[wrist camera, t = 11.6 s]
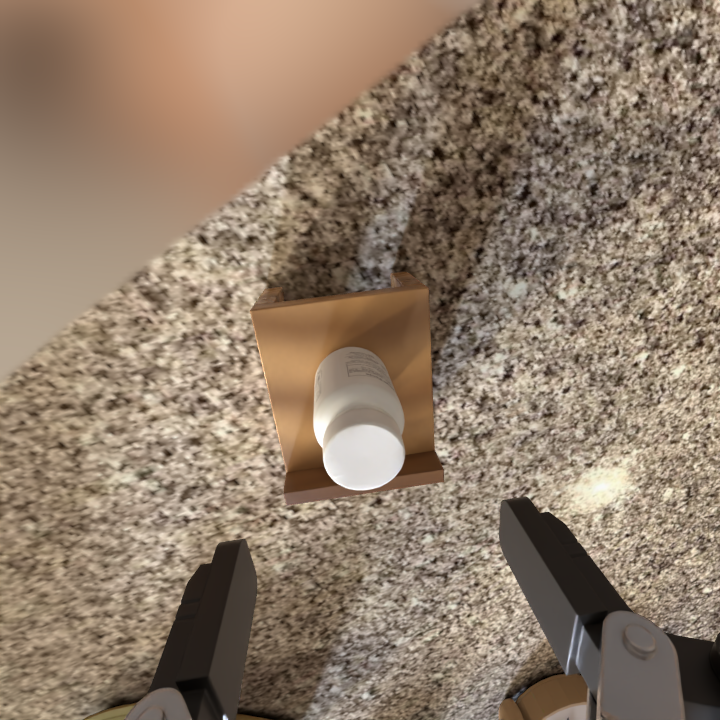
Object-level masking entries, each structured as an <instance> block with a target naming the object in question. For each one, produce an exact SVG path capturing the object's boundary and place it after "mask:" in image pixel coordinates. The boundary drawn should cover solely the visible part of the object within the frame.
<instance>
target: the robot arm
mask: <svg viewBox="0 0 720 720" xmlns="http://www.w3.org/2000/svg"><path fill="white" fill-rule="evenodd" d="M499 540H500V545H501V548H502V551H503V554H504V556H505V558H506V560H507V562H508V564H509V566H510V568H511V570H512V572H513V574H514V576H515V578H516V580H517V582H518V583H519V585H520V587H521V589H522V591H523V593H524V595H525V597H526V599H527V601H528V603H529V605H530V607H531V609H532V610H533V612H534V614H535V616H536V618H537V620H538V622H539V624H540V626H541V628H542V630H543V632H544V634H545V636H546V637H547V639H548V641H549V643H550V645H551V647H552V649H553V651H554V653H555V655H556V657H557V659H558V661H559V663H560V664H561V666H562V668H563V670H564V672H565V674H566V675H572V674H578V673H581V675H582V677H583V678H584V680H585V682H586V684H587V686H588V691H587V705H586V720H720V633H719V634H718V635H717V638H716V640H715V642H711V641H706V640H700V639H694V638H688V637H682V636H677V635H673V634H669V633H666V632H663V631H662V629H660V628H659V627H658V626H657V625H656V624H654V623H653V622H652V621H650V620H648V619H647V618H645V617H643V616H641V615H639V614H636V613H634V612H633V611H632V610H631V609H630V608H629V607H628V606H627V605H626V603H625V602H624V601H623V599H622V598H621V597H620V595H619V594H618V593H617V591H616V590H615V589H614V588H613V586H612V585H611V584H610V582H609V581H608V580H607V578H606V577H605V576H604V574H603V573H602V572H601V570H600V569H599V568H598V567H597V565H596V564H595V563H594V561H593V560H592V559H591V557H590V556H588V555H587V552H586V551H585V549H584V548H583V547H582V546H581V544H580V543H578V542H577V539H576V538H575V536H574V535H573V534H572V532H571V531H570V530H569V528H568V527H567V526H566V525H565V524H564V523H563V522H562V521H560V520H559V519H558V518H556V517H555V516H554V515H552V514H551V513H549V512H544V513H539V512H538V510H537V509H536V507H535V506H534V504H533V503H532V502H531V500H530V499H529V498H527V497H520V498H514V499H507V500H502V502H501V509H500V527H499ZM256 596H257V575H256V571H255V568H254V564H253V561H252V558H251V554H250V551H249V548H248V545H247V542H246V540H245V539H240V540H233V541H227V542H220V543H219V544H218V545H217V547H216V550H215V553H214V557H213V560H212V563H210V564H203V565H200V567H199V568H198V569H197V571H196V572H195V573H194V575H193V576H192V577H191V579H190V580H189V581H188V583H187V586H186V589H185V592H184V595H183V597H182V600H181V605H180V606H179V609H178V611H177V614H176V617H175V618H176V620H175V621H174V623H173V625H172V628H171V631H170V634H169V637H168V639H167V642H166V645H165V648H164V651H163V653H162V656H161V659H160V662H159V665H158V667H157V670H156V673H155V676H154V679H153V681H152V684H151V686H150V689H149V691H148V693H147V694H146V696H145V697H143V698H142V699H141V700H140V701H139V702H138V703H136V705H135V706H134V707H133V708H132V709H131V710H130V712H129V713H128V714H127V715H126V717H125V719H124V720H236V715H237V709H238V703H239V697H240V691H241V685H242V679H243V673H244V668H245V662H246V656H247V650H248V644H249V638H250V632H251V626H252V620H253V614H254V608H255V602H256Z"/></svg>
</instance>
